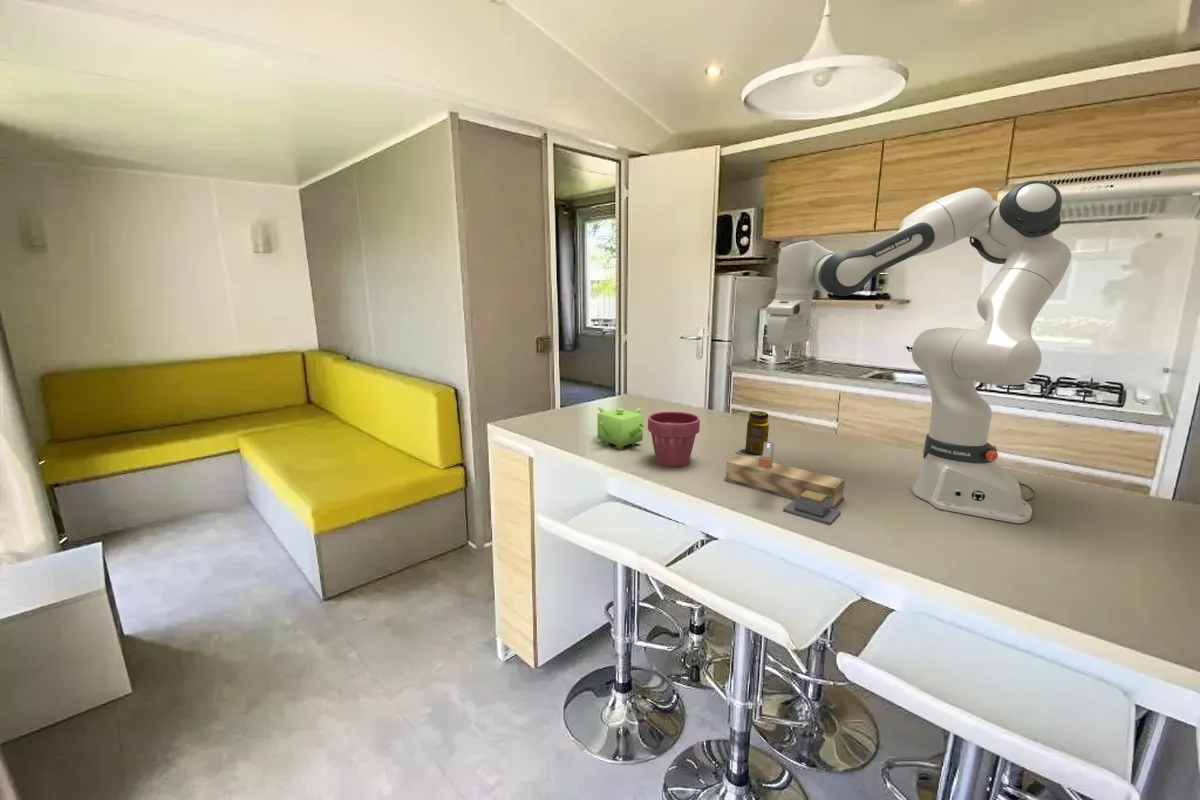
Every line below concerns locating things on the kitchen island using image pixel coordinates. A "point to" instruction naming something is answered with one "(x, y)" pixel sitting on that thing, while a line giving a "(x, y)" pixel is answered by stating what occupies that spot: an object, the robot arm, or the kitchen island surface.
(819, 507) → the grey and tan block
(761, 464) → the latch lever
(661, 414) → the plant pot
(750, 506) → the kitchen island surface
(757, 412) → the condiment
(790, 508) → the mat
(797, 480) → the plane body
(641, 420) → the kettle
